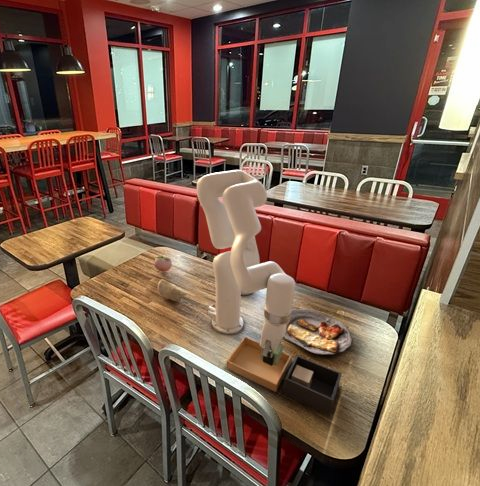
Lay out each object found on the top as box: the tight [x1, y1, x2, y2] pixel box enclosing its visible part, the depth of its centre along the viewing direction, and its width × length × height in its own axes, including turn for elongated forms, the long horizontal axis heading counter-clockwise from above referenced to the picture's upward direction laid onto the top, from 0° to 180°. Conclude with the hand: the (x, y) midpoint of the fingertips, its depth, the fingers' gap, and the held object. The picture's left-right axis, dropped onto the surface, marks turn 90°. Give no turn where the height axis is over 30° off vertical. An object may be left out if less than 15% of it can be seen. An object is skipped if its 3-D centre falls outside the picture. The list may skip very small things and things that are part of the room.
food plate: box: [283, 308, 353, 356], centre depth 116 cm, size 25×23×4 cm
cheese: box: [157, 278, 188, 302], centre depth 141 cm, size 15×7×15 cm
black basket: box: [282, 354, 343, 417], centre depth 93 cm, size 13×11×6 cm
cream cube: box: [291, 365, 313, 388], centre depth 95 cm, size 5×5×5 cm
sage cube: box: [261, 343, 284, 366], centre depth 99 cm, size 5×5×5 cm
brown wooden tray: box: [225, 336, 293, 393], centre depth 104 cm, size 17×14×3 cm
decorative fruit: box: [153, 254, 173, 273], centre depth 162 cm, size 9×8×10 cm
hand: (271, 357), depth 100 cm, fingers closed on sage cube, 5 cm apart
